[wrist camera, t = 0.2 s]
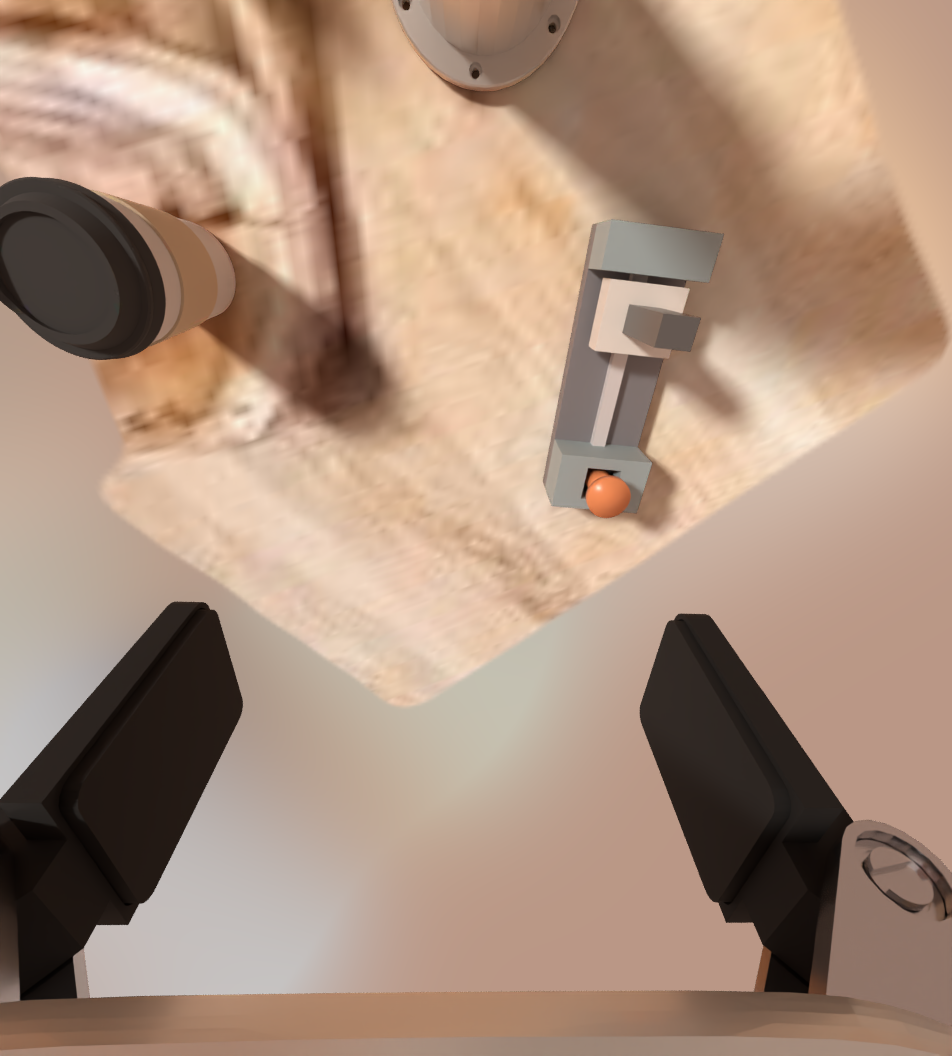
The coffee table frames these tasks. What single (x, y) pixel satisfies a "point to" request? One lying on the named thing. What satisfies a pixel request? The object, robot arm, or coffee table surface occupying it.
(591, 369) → the rail board
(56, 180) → the coffee cup
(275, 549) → the coffee table surface
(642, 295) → the carriage
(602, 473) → the button
